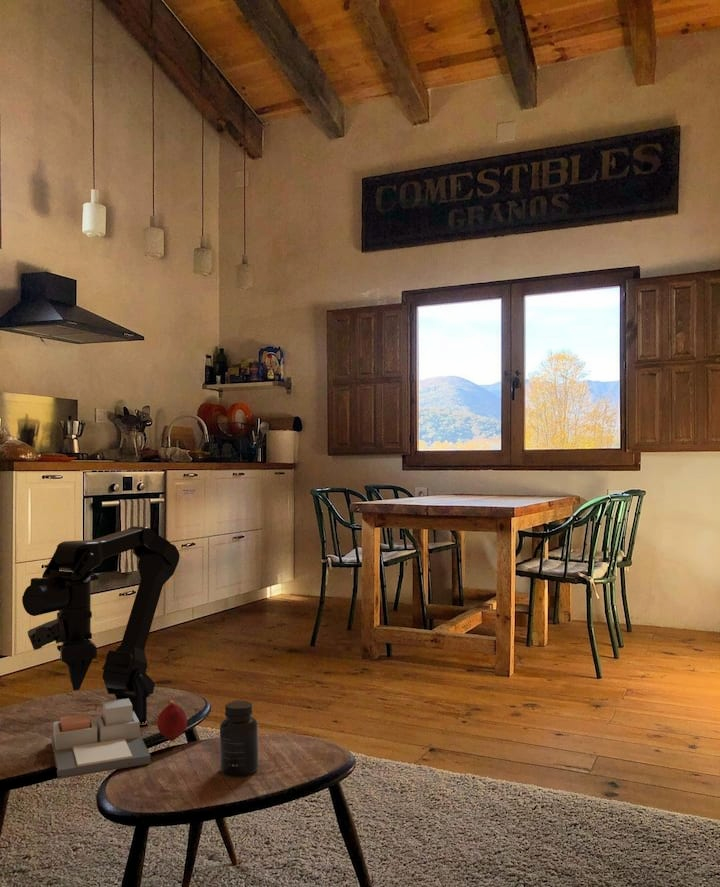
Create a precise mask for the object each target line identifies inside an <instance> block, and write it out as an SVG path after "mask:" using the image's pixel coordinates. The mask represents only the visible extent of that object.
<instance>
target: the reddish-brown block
mask: <svg viewBox="0 0 720 887" xmlns="http://www.w3.org/2000/svg"><path fill="white" fill-rule="evenodd" d="M89 717H90V716H89V714H88V713H80V714H74V715H68V716H67V715H66V716H61V717H60V718H59V721H60V732H65V731H72V730H79V729H86V728H90V720H89Z"/></svg>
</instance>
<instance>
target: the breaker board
mask: <svg viewBox="0 0 720 887" xmlns="http://www.w3.org/2000/svg"><path fill="white" fill-rule="evenodd" d="M88 717H89V720H90V728H86V729H79V730H72V731H65V732H60V720H58V721H57V720H56V721H53V725H52V726H53V727H52V728H53V734H51V737H50V738H51V742H52V743H51V742H50V743H51V747H53V749H52V752H54V754H53V758H54V757H55V759H54V763H55V762H56V765H55V768H57V770H56V775H57V779H58V780H59V779H60V780H61V779H65V778H72V777H77V776H84V775H90V774H96V773H101V772H103V773H104V772H107V771H115V770H120V769H121V770H122V769H126V768H132V767H138V766H144V765H150V764H151V757H152V756H151V753H150V751H149V750H148V748H147V746H146V744H145V742H144V740H143V738H142V735H141V734H140V733H141V732H140V731H141V726H140V722H139V720H138V718H137V716H136V714H135V712H134V711H132V722H128V723H121V724H114V725H107V726H105V725H104V723H103V714H101V715H96V716H95V719H94V716H88ZM129 763H130V764H129ZM59 776H60V777H59Z"/></svg>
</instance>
